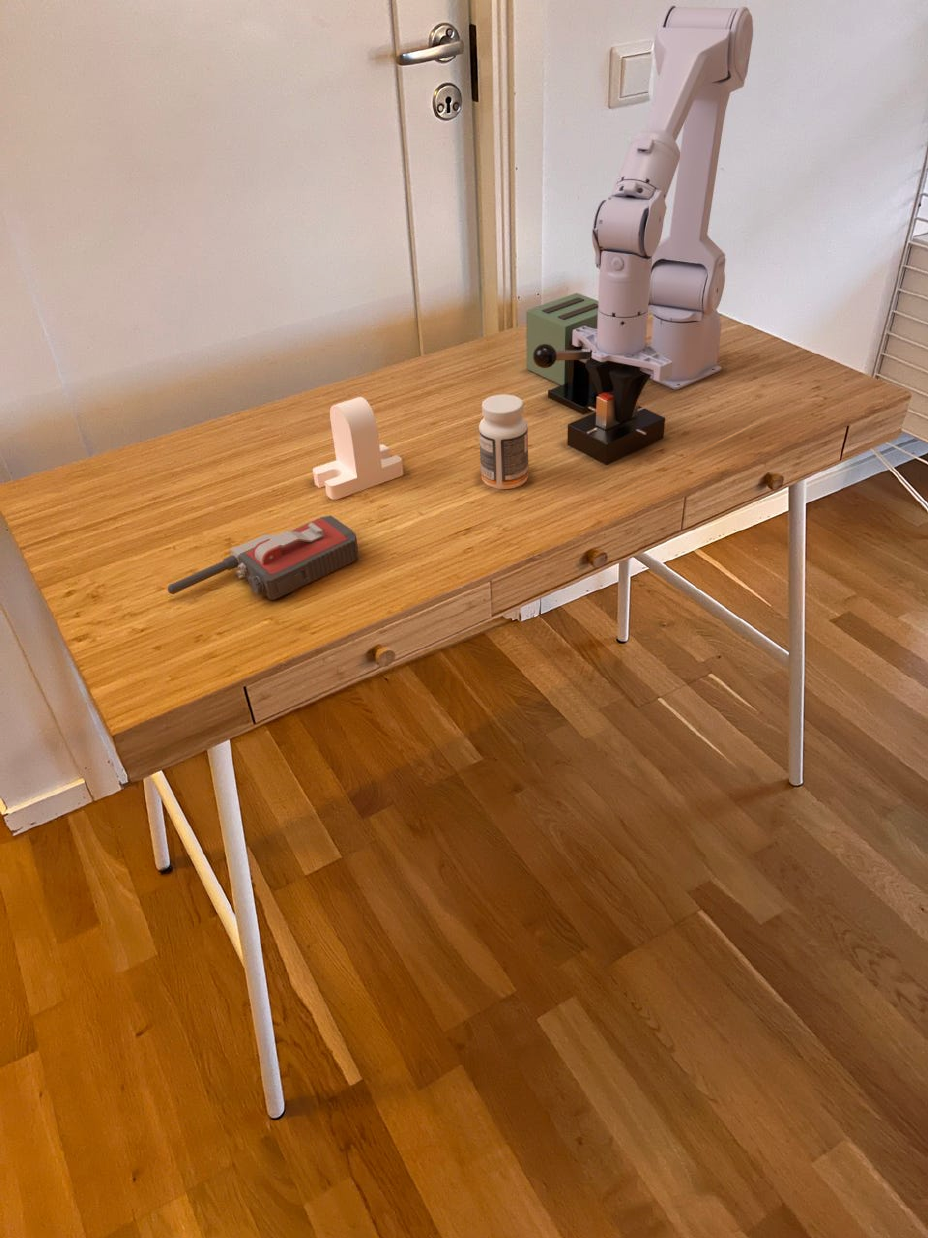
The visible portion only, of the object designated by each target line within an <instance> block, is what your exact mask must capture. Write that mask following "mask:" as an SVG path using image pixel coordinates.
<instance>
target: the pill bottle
mask: <svg viewBox="0 0 928 1238" xmlns="http://www.w3.org/2000/svg"><path fill="white" fill-rule="evenodd" d="M481 414H482V416H483V418H481V420H480V422H479V425H478V436H479V439H478V440H479V457H480V458H479V460H480V475H481V480H482V482H483V483H484V484H485V485H486V486H488V487H490V488H492V489H497V490H510V489H516V488H519V487H520V486H522V485H524V484H525V483H526V482H527V480H528V479H529V427H528V422H527V420H526V419H525V417H524V416H523V414H524V402H523V400H522V399H521V398H520V397H519V396H516V395H513V394H508V393H507V394H503V393H502V394H495V395H492V396H488V397H487V398H485V399H484V400H483V401H482V404H481Z"/></svg>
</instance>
